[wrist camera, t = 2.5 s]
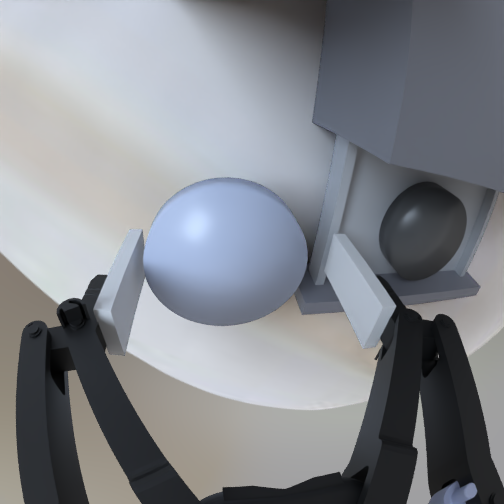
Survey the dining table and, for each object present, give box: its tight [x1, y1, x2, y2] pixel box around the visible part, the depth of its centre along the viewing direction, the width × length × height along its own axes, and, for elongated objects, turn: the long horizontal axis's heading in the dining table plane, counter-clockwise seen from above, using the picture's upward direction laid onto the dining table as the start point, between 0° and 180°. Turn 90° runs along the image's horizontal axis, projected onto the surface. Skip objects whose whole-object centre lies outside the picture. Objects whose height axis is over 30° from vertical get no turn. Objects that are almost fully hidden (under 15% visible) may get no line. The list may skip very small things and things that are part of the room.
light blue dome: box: [143, 177, 308, 326], centre depth 15 cm, size 8×8×2 cm
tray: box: [294, 135, 499, 315], centre depth 17 cm, size 17×18×4 cm
